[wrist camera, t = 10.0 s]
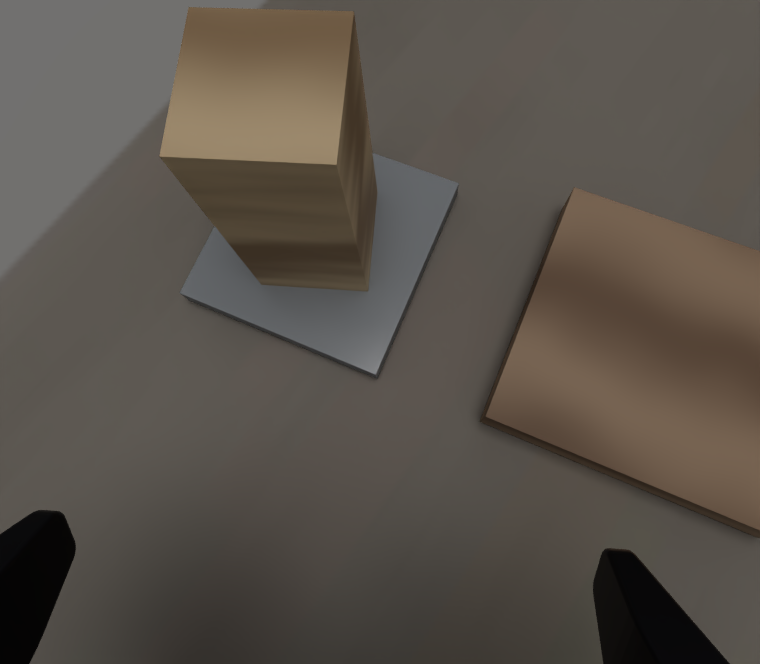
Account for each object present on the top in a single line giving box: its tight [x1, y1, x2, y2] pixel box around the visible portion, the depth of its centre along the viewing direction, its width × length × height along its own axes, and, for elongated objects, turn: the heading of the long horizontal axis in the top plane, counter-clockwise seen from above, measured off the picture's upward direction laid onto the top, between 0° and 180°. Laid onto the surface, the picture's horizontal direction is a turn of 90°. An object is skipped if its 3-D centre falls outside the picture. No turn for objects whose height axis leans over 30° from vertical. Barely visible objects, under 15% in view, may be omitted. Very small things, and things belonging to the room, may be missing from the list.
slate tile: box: [180, 153, 459, 379], centre depth 25 cm, size 9×9×1 cm
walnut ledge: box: [480, 187, 760, 538], centre depth 23 cm, size 10×11×2 cm
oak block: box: [159, 7, 378, 292], centre depth 20 cm, size 4×4×10 cm
